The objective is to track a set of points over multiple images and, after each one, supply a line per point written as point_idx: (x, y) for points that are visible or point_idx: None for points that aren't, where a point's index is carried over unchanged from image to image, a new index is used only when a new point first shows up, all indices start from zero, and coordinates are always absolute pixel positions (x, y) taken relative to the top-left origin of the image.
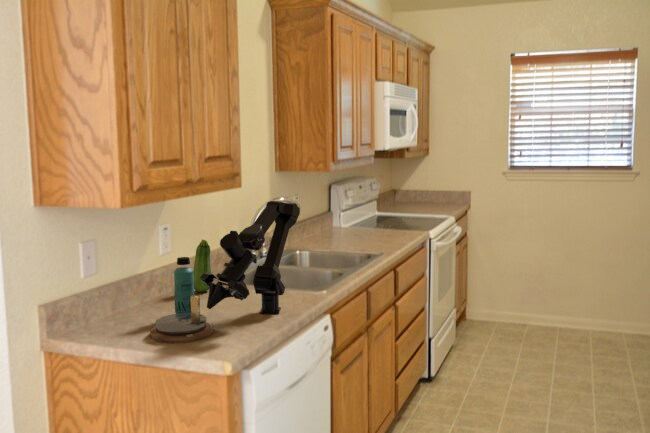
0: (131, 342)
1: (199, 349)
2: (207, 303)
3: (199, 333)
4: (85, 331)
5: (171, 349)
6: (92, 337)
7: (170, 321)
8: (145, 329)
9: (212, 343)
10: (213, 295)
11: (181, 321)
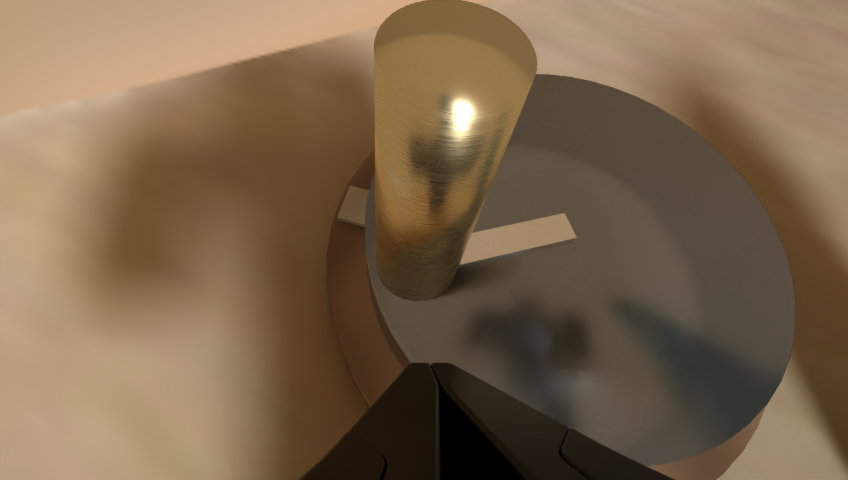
0: (555, 49)
1: (172, 181)
2: (462, 373)
3: (354, 285)
4: (820, 20)
5: (312, 97)
6: (718, 2)
7: (590, 158)
8: (744, 178)
9: (187, 300)
10: (363, 441)
11: (538, 206)
